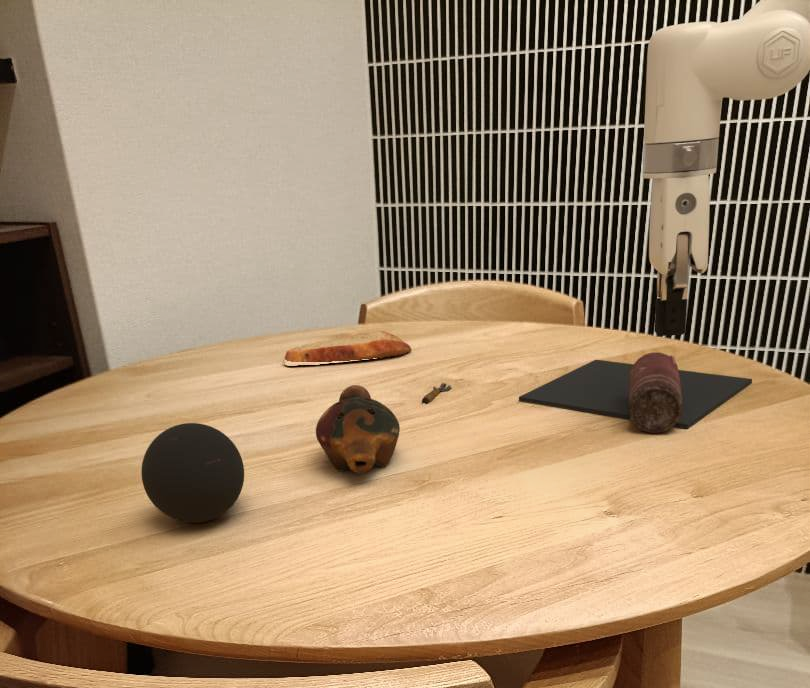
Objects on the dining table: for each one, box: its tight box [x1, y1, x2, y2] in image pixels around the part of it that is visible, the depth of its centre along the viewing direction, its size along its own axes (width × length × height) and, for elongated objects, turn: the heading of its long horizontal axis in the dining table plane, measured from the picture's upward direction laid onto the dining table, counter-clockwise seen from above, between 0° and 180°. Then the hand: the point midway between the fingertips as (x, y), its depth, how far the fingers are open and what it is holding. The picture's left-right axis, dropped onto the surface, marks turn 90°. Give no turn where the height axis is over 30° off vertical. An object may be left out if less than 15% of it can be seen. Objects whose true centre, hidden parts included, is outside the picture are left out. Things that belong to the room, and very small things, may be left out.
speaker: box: [141, 422, 245, 524], centre depth 82 cm, size 10×10×10 cm
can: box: [629, 352, 683, 434], centre depth 102 cm, size 6×6×14 cm
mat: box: [518, 359, 753, 430], centre depth 113 cm, size 24×22×1 cm
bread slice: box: [283, 330, 412, 362], centre depth 140 cm, size 18×18×4 cm
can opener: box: [421, 382, 452, 405], centre depth 118 cm, size 9×2×1 cm, turn 152°
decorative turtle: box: [315, 384, 401, 474], centre depth 94 cm, size 10×15×8 cm, turn 10°
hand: (669, 333), depth 95 cm, fingers closed
